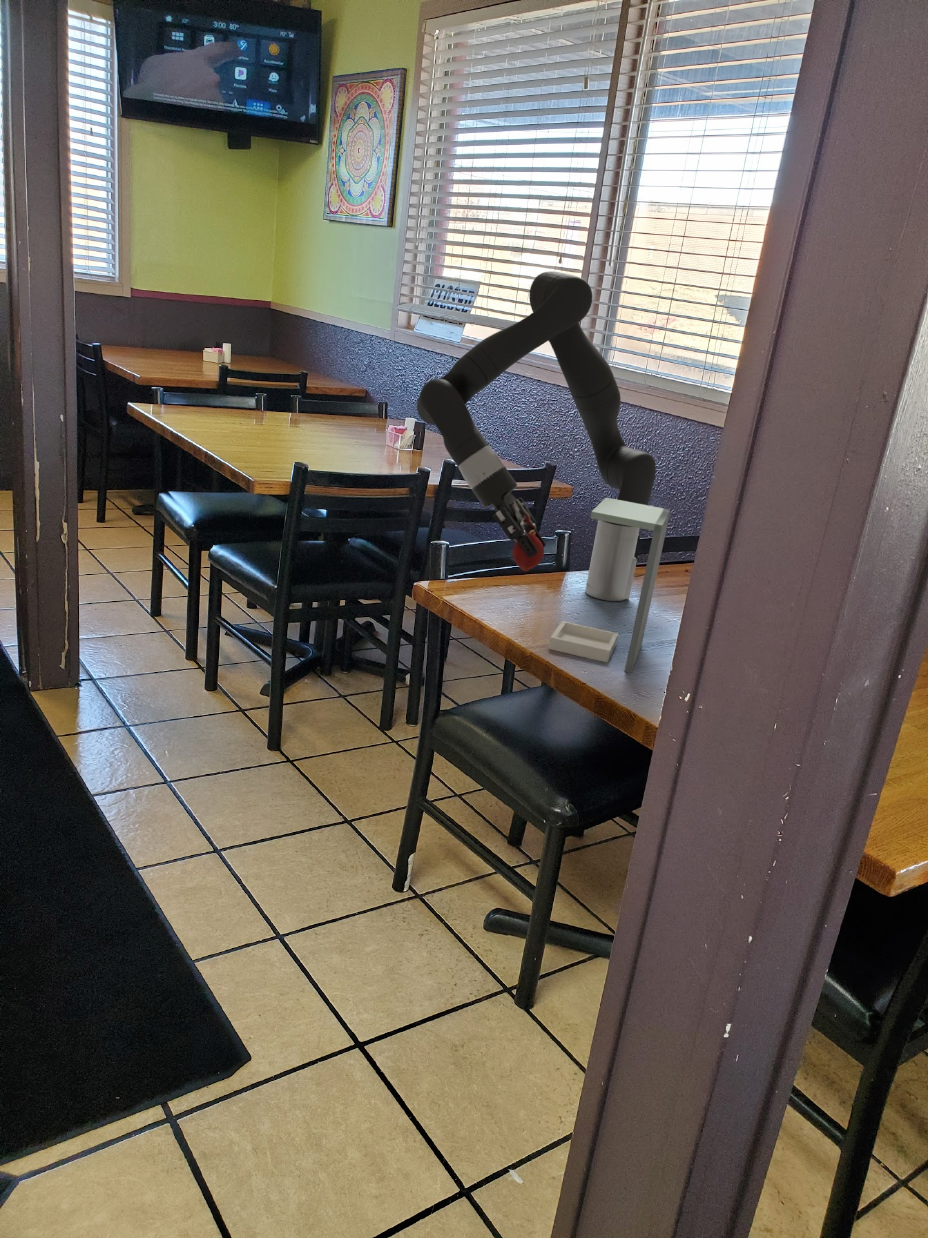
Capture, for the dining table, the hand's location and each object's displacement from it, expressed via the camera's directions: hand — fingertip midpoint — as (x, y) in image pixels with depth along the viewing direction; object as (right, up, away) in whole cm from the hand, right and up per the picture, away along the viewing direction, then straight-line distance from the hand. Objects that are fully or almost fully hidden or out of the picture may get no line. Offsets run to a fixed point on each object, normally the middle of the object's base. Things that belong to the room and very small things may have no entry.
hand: (537, 551), depth 173 cm
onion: (-2, -4, +2) cm, 5 cm away
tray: (+9, -18, +2) cm, 20 cm away
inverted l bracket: (+13, -19, +1) cm, 23 cm away
